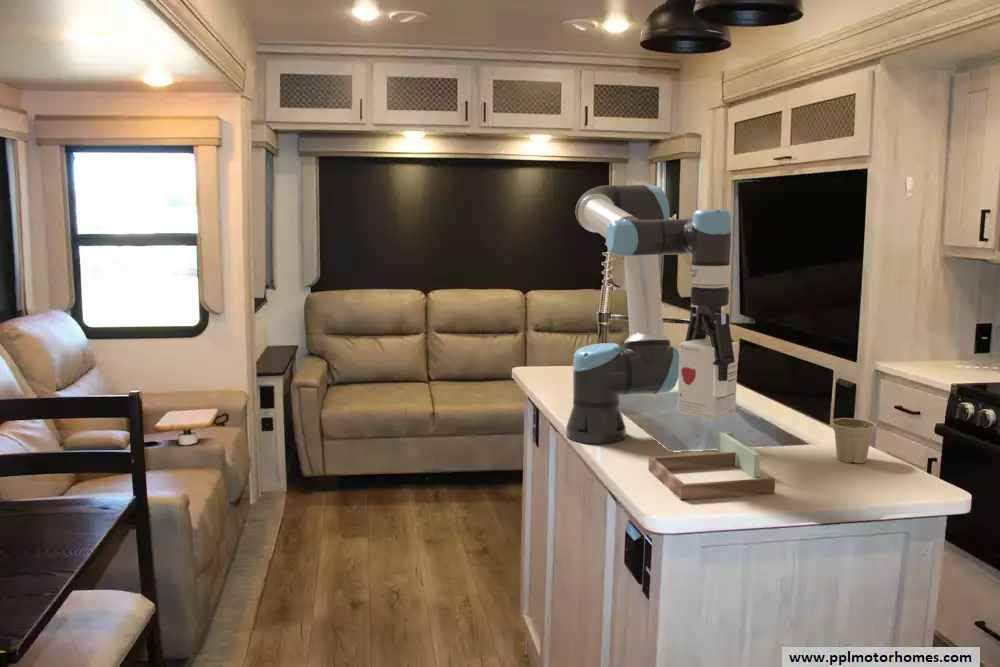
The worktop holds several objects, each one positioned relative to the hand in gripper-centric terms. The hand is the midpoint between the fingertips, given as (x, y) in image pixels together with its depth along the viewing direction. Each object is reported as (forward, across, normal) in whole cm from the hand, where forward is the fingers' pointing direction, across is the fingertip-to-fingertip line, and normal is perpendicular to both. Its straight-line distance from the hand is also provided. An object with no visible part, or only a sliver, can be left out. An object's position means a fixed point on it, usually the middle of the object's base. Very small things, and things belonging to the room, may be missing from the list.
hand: (707, 389), depth 167 cm
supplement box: (+5, 0, 0) cm, 5 cm away
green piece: (+20, -10, +13) cm, 26 cm away
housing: (+20, 0, +1) cm, 20 cm away
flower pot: (+20, -8, +39) cm, 45 cm away
